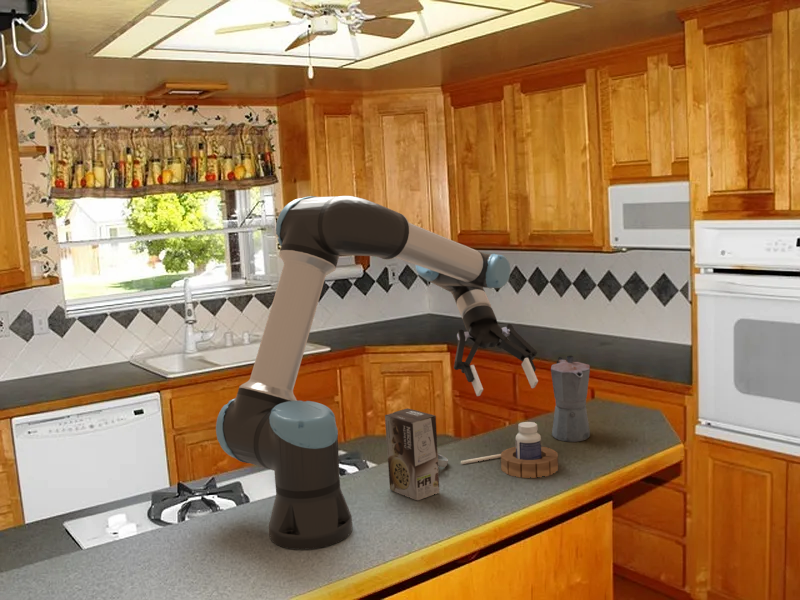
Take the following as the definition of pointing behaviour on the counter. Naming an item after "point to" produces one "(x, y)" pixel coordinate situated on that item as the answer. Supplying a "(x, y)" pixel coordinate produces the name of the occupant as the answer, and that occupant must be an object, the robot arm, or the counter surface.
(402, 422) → the coffee box
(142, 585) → the counter surface
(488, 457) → the wooden dowel
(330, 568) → the counter surface
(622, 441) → the counter surface
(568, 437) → the moka pot
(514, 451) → the brown segmented ring
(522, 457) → the pill bottle
